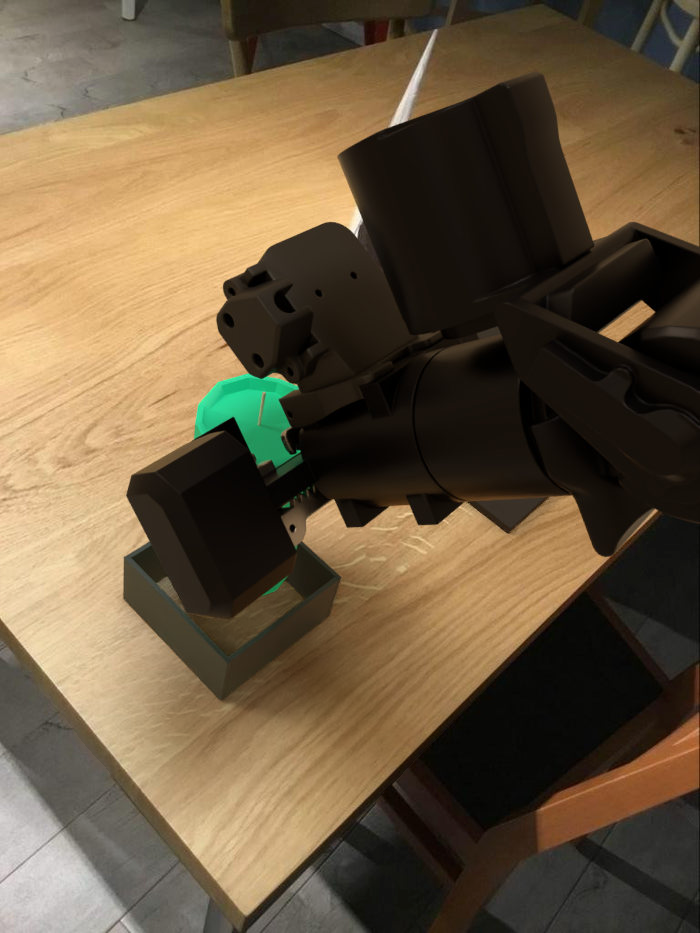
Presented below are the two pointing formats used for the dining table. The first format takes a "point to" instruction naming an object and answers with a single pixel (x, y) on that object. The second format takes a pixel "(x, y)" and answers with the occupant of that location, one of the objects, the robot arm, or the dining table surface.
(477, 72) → the dining table surface
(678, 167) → the dining table surface
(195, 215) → the dining table surface
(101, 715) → the dining table surface
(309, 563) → the dark grey square tray
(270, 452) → the candle
